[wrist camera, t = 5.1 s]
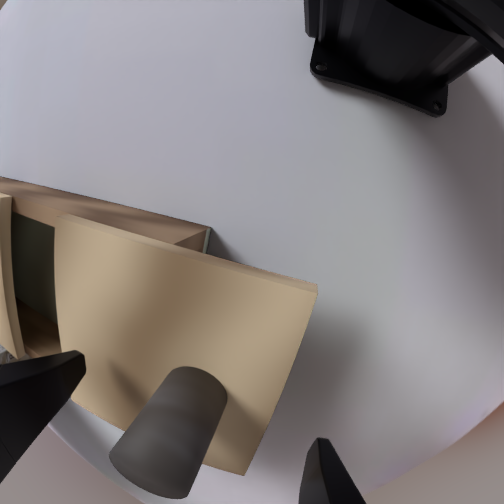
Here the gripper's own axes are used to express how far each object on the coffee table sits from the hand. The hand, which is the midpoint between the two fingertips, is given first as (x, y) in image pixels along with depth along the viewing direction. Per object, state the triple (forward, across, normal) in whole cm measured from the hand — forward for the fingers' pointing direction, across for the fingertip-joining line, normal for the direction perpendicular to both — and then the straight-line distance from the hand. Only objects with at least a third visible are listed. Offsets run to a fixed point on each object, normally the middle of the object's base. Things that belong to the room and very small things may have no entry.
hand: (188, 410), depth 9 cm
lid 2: (+2, +2, 0) cm, 3 cm away
